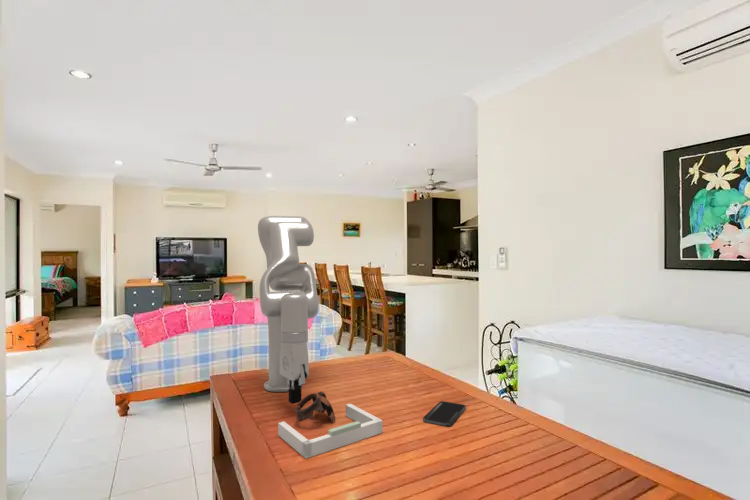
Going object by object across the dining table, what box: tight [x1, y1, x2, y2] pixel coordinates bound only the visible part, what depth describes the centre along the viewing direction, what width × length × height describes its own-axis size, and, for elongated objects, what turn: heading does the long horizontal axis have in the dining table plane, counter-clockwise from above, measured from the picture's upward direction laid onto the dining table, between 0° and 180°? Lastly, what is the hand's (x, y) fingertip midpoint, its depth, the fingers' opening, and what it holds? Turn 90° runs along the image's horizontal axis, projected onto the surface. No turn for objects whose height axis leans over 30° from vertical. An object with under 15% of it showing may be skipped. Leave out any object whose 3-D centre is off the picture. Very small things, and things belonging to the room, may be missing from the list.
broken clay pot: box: [294, 391, 336, 424], centre depth 109 cm, size 12×9×8 cm
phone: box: [422, 400, 467, 428], centre depth 112 cm, size 8×1×15 cm
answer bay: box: [277, 403, 384, 460], centre depth 100 cm, size 14×21×4 cm
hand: (295, 401), depth 116 cm, fingers closed
